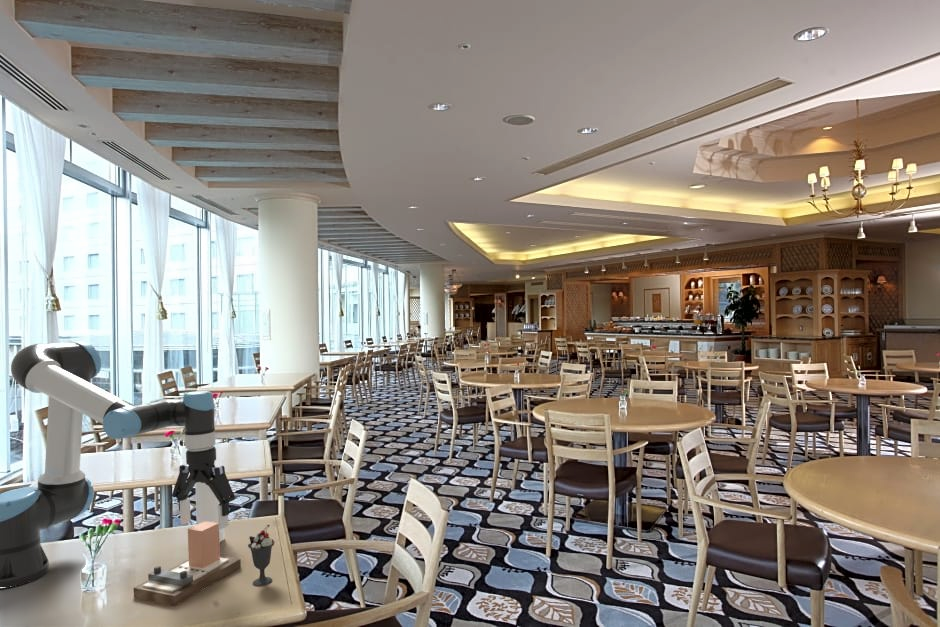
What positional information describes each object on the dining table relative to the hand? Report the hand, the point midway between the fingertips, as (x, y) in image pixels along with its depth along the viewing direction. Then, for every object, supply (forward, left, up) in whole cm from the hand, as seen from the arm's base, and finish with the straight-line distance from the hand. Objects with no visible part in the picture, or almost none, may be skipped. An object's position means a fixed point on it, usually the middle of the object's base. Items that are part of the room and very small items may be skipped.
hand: (204, 525), depth 159 cm
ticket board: (0, -5, -13) cm, 14 cm away
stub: (0, 0, -11) cm, 11 cm away
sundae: (+19, +1, -14) cm, 23 cm away
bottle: (-16, +18, -14) cm, 28 cm away
